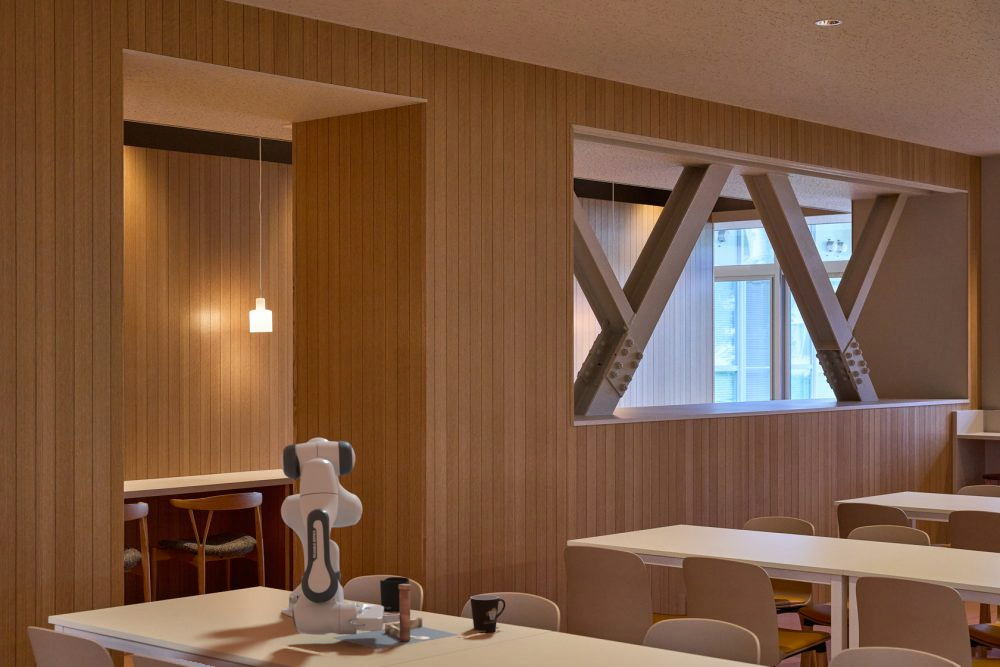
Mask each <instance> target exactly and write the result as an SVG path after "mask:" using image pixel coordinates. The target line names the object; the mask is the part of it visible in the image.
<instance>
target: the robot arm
mask: <svg viewBox="0 0 1000 667" xmlns="http://www.w3.org/2000/svg"><path fill="white" fill-rule="evenodd" d="M354 450H355V449H354V448H353V447H352V444H350V443H349V442H348V441H345V440H338V441H330V440H328V439H326V438H323V437H315V438H310V439H309V440H308V441H307V442H304V443H291V444H288V445H286V446H285V447H284V448H283V451H282V453H281V456H280V467H281V470H282V471H283V475H284V476H286V477H287V478H288V479H291V480H294V481H295V482H296V481H297V480H298V479H300V481H299V493H297V494H292V495H288V496H287V497H285V499H284V500H283V502H282V505H281V508H280V515H281V519H282V520H283V522H284V524H285V525H287V527H290V528H291V529H292V530H293V531H294V532H295V533H296V534H297V536H298V538H299V540H300V541H301V544H302V549H303V557H304V560H303V561H304V571H303V572H300V573H299V574H300V575H299V577H301V581H300V584H299V585H298V586H297V587H296V588H295V589H294V590H293V591H291V593H290V594H289V597H288V598H289V599H288V607H284V608H282V609H281V614H284V615H286V616H288V617H291V618H292V621H293V625H294V628H295V629H296V631H297V632H298V633H300V634H305V635H314V636H320V635H321V636H322V635H323V636H324V635H329V634H335V635H341V636H342V635H351V634H357V631H361V632H369V631H380V630H382V629H383V626H384V624H391V623H396V622H400V613H393V612H385V611H384V607H383V606H381V604H380V605H379V604H366V603H365V604H361V603H360V604H359V602H357V601H351V602H350V601H349V602H345V597H344V588H343V586H342V585H341V581H342V579H341V578H342V574H341V570H340V548H339V546H338V543H336V541H334V540H332V539H331V531H332V528H346V527H349V526H354V525H357V523H358V522H359V521H360V520H361V518H362V514H363V504H362V502H361V500H360V498H359V497H358V496H357V495H356V494H354V493H352V492H349V491H348V490H347V489H345V488H344V487H343V486H342V485H341V483H340V479H339V476H340V477H344V476H347V475H349V474H350V473H352V472H353V469H354V467H355V463H356V454H355V451H354Z"/></svg>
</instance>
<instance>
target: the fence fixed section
mask: <svg viewBox="0 0 1000 667" xmlns="http://www.w3.org/2000/svg"><path fill="white" fill-rule="evenodd" d="M391 625H394V626H396V627H398V628H400V621H399V622H391V623H384V629H385V633H386V634H391V633H390V626H391ZM415 627H423V617H415V618H410V629H411V628H415Z"/></svg>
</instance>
